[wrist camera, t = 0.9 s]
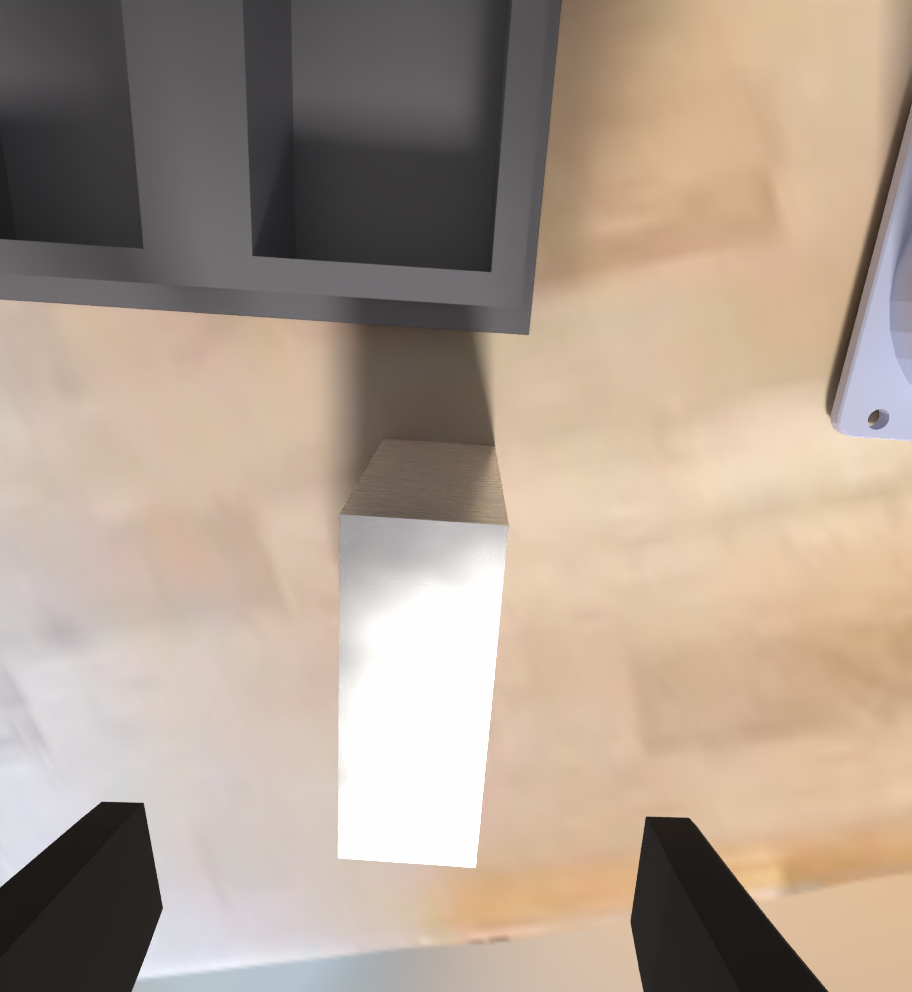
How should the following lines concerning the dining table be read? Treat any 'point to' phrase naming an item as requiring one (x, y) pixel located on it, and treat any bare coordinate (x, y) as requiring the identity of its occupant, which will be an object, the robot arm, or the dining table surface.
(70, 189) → the box
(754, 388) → the dining table surface
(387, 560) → the grey metallic block
